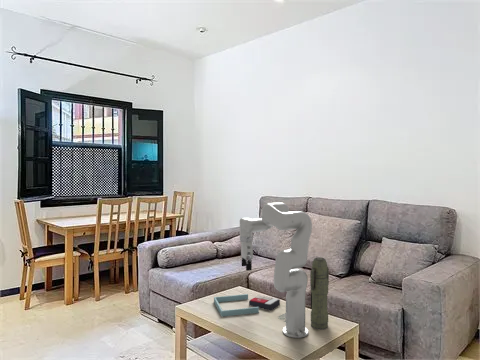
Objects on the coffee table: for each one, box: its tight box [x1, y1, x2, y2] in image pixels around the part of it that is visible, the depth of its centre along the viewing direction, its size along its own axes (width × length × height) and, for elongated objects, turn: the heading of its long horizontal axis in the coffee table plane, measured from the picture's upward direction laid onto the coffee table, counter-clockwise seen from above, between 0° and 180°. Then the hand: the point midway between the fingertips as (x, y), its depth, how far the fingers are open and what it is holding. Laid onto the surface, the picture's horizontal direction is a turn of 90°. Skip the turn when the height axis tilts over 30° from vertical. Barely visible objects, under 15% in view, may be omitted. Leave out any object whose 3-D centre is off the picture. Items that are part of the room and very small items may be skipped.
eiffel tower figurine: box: [277, 312, 286, 323], centre depth 205 cm, size 15×10×13 cm
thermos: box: [309, 256, 330, 330], centre depth 192 cm, size 9×12×35 cm
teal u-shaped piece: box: [213, 293, 260, 317], centre depth 219 cm, size 23×21×3 cm
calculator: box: [248, 295, 281, 312], centre depth 222 cm, size 11×4×15 cm
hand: (246, 268), depth 219 cm, fingers open, 9 cm apart
